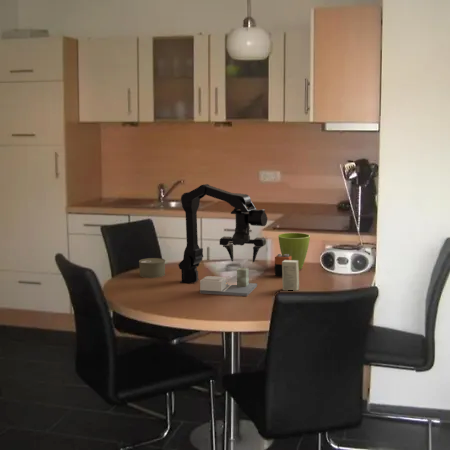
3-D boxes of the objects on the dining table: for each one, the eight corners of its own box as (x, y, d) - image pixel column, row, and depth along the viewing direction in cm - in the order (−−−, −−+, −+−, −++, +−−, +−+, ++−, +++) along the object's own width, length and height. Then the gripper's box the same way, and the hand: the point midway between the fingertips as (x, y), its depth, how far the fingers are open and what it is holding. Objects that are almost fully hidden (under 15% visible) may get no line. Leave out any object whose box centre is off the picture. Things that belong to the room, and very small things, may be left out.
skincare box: (299, 288, 280) (299, 260, 278) (297, 291, 276) (297, 262, 274) (284, 287, 282) (284, 259, 280) (281, 290, 278) (281, 261, 276)
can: (170, 275, 308) (169, 261, 307) (146, 279, 302) (146, 264, 301) (157, 271, 318) (157, 256, 317) (134, 274, 312) (134, 260, 311)
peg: (237, 286, 281) (236, 269, 280) (239, 283, 285) (239, 267, 284) (246, 286, 280) (246, 270, 279) (248, 284, 284) (248, 268, 283)
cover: (200, 290, 274) (200, 279, 273) (205, 286, 281) (205, 275, 280) (221, 291, 272) (221, 280, 271) (226, 287, 278) (226, 276, 277)
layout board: (199, 293, 275) (199, 290, 275) (212, 283, 291) (212, 280, 291) (247, 296, 270) (246, 293, 269) (257, 286, 286) (256, 283, 286)
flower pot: (311, 271, 311) (311, 238, 309) (279, 272, 312) (279, 238, 309) (308, 265, 326) (308, 232, 324) (277, 265, 326) (277, 233, 324)
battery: (289, 277, 301) (289, 255, 299) (274, 276, 303) (274, 254, 302) (291, 275, 305) (291, 253, 303) (277, 274, 307) (277, 252, 306)
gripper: (215, 227, 274) (216, 264, 276) (259, 228, 268) (260, 266, 271) (223, 223, 284) (223, 259, 287) (266, 224, 279) (266, 261, 281)
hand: (242, 261), depth 281 cm, fingers open, 9 cm apart
